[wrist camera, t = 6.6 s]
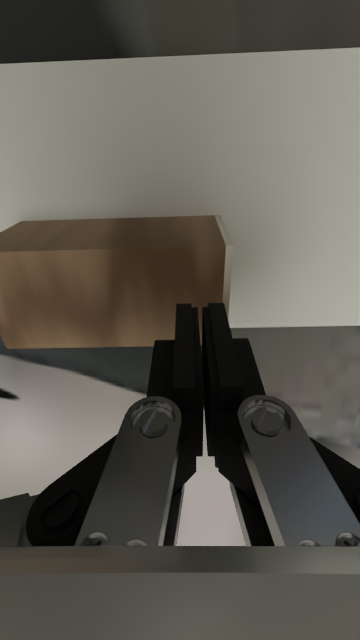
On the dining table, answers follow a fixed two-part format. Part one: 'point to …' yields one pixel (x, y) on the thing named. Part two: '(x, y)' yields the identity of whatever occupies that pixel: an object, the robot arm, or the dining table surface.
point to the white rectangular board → (204, 163)
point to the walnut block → (109, 279)
